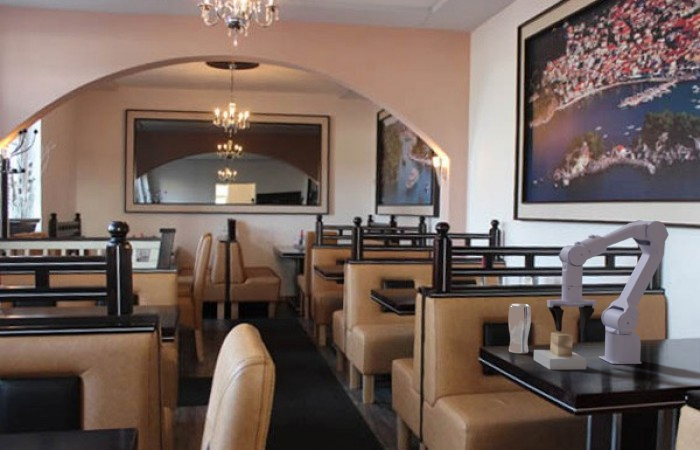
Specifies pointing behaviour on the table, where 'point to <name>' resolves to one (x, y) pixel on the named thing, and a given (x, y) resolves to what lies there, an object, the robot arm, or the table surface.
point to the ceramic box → (559, 360)
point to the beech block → (561, 344)
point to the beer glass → (519, 327)
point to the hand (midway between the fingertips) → (570, 330)
